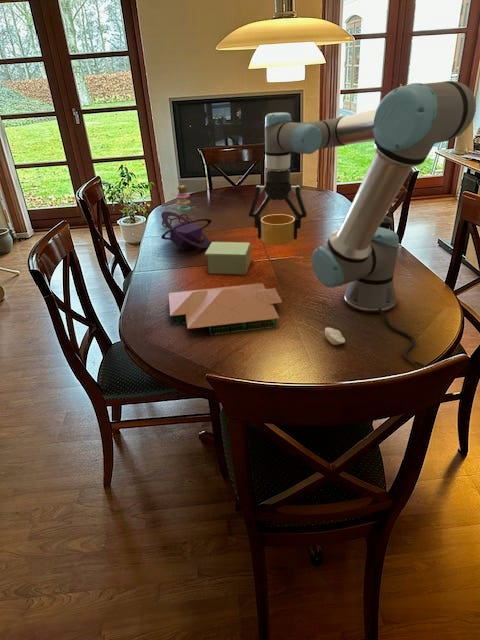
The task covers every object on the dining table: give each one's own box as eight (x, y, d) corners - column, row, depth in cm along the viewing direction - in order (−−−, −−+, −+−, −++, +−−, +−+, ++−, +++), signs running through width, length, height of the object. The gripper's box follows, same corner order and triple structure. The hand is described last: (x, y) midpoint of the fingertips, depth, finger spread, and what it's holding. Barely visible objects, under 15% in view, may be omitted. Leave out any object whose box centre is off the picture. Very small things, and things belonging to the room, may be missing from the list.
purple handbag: (213, 256, 173) (209, 192, 160) (159, 259, 172) (150, 195, 159) (213, 236, 192) (208, 177, 179) (164, 239, 191) (156, 180, 178)
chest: (208, 273, 159) (207, 255, 156) (215, 260, 169) (214, 243, 166) (245, 274, 157) (245, 256, 154) (250, 261, 167) (250, 244, 164)
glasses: (187, 222, 210) (186, 212, 207) (200, 230, 200) (200, 219, 198) (162, 228, 204) (160, 218, 201) (174, 236, 194) (173, 225, 192)
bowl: (293, 246, 141) (293, 224, 137) (258, 245, 142) (258, 224, 139) (295, 234, 150) (295, 214, 147) (262, 234, 152) (262, 213, 148)
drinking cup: (388, 258, 165) (396, 205, 155) (367, 257, 167) (373, 204, 156) (386, 250, 172) (394, 199, 161) (366, 250, 173) (372, 198, 163)
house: (288, 326, 126) (289, 301, 122) (172, 340, 122) (168, 315, 118) (270, 291, 145) (270, 268, 141) (170, 302, 141) (167, 278, 137)
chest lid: (205, 255, 156) (204, 253, 156) (212, 243, 166) (212, 241, 165) (245, 256, 154) (245, 254, 153) (250, 244, 164) (250, 242, 163)
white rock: (319, 338, 121) (321, 325, 120) (336, 339, 122) (339, 325, 121) (330, 348, 114) (333, 334, 113) (348, 348, 116) (351, 334, 114)
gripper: (317, 165, 136) (314, 234, 147) (241, 166, 140) (244, 233, 151) (316, 171, 130) (313, 242, 141) (237, 171, 134) (240, 240, 145)
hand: (277, 237), depth 146 cm, fingers closed on bowl, 11 cm apart
